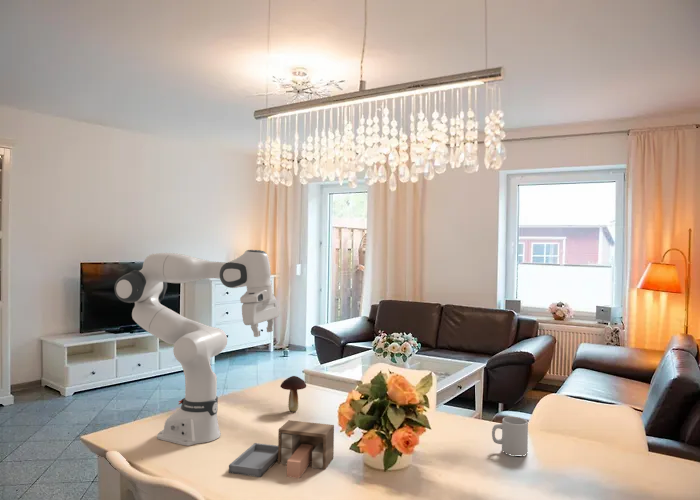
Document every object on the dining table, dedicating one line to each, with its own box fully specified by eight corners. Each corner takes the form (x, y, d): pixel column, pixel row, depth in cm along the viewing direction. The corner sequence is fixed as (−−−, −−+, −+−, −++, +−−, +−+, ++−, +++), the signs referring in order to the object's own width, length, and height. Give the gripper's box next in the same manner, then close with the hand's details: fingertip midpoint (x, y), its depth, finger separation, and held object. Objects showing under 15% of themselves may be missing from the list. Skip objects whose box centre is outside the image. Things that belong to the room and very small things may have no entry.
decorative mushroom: (304, 415, 212) (305, 379, 212) (278, 415, 212) (278, 379, 212) (307, 407, 223) (307, 373, 223) (282, 407, 223) (282, 372, 223)
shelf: (278, 463, 165) (278, 429, 165) (288, 452, 174) (288, 420, 174) (325, 469, 161) (325, 434, 161) (333, 458, 170) (333, 425, 170)
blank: (286, 477, 156) (287, 460, 156) (301, 458, 170) (301, 443, 170) (299, 478, 155) (299, 462, 155) (312, 460, 169) (313, 445, 169)
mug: (524, 448, 181) (524, 417, 181) (530, 457, 173) (530, 425, 173) (489, 446, 183) (490, 415, 182) (493, 455, 174) (494, 423, 174)
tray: (228, 472, 158) (228, 465, 158) (254, 449, 176) (254, 442, 176) (260, 477, 155) (260, 469, 155) (283, 453, 173) (283, 446, 173)
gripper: (266, 292, 192) (269, 329, 192) (237, 298, 172) (241, 339, 172) (281, 291, 190) (284, 328, 190) (253, 297, 170) (257, 339, 170)
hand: (263, 334), depth 181 cm, fingers open, 8 cm apart
